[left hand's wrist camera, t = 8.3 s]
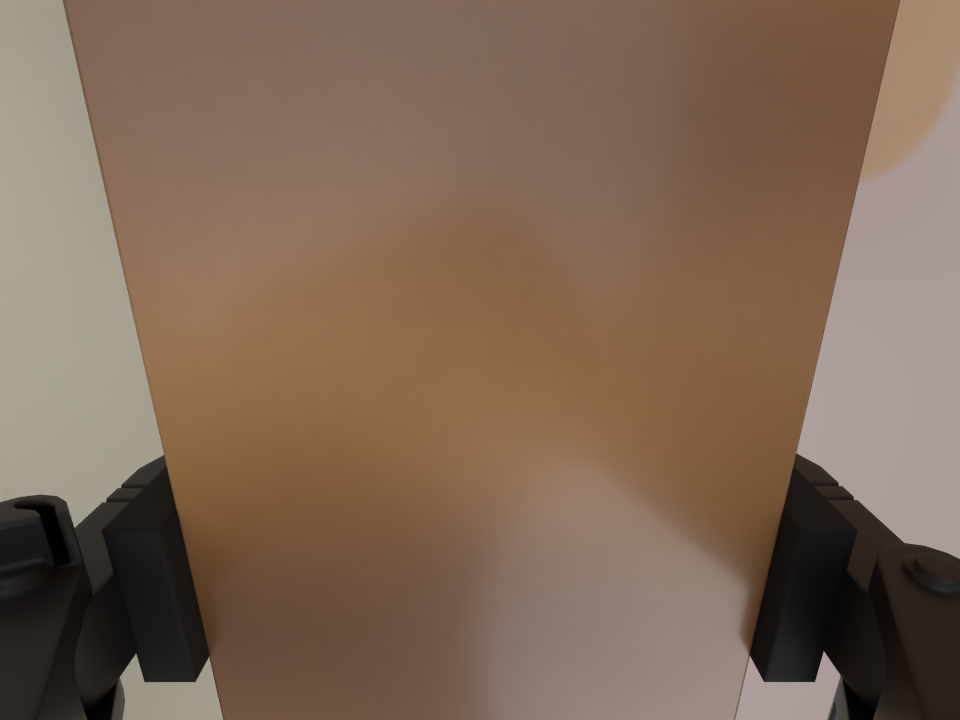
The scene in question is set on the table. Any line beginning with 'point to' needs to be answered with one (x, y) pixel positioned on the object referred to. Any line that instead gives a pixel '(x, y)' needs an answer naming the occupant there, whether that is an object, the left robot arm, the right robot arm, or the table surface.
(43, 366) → the table surface
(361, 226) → the slab
